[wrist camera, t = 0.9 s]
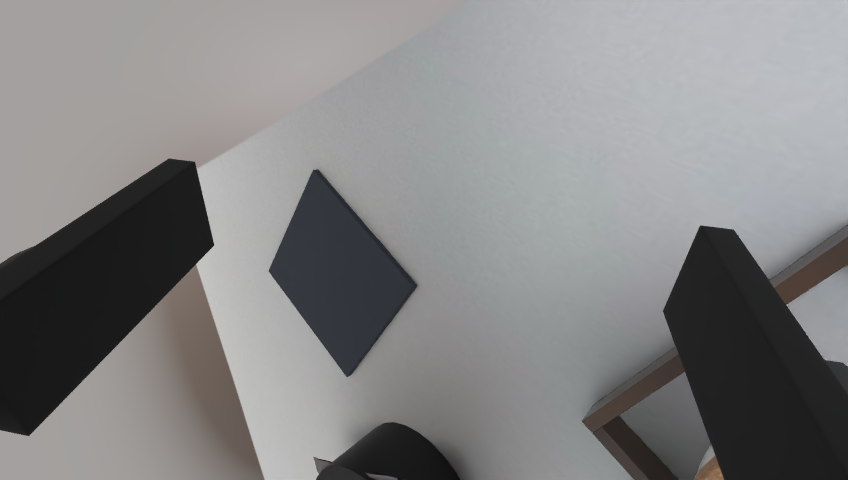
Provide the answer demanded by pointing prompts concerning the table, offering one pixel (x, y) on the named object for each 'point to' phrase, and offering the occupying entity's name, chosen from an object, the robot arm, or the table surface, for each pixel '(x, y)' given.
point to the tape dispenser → (388, 458)
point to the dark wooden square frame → (604, 414)
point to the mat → (338, 274)
